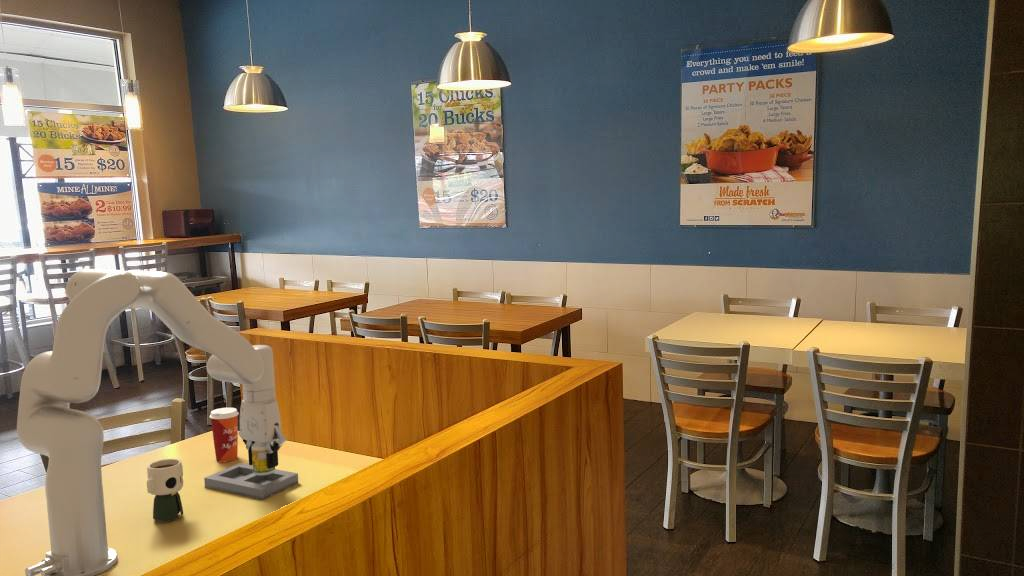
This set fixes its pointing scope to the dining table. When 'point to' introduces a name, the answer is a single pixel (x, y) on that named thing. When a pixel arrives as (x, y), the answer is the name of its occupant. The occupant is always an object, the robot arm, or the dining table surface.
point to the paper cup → (225, 433)
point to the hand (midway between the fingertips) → (263, 464)
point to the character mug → (165, 488)
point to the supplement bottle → (260, 459)
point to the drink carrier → (250, 481)
